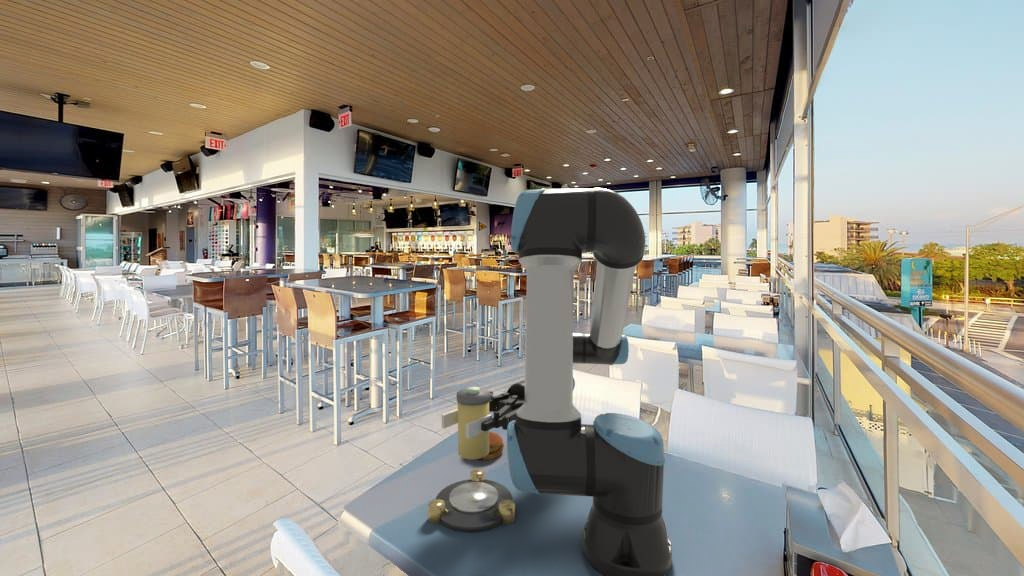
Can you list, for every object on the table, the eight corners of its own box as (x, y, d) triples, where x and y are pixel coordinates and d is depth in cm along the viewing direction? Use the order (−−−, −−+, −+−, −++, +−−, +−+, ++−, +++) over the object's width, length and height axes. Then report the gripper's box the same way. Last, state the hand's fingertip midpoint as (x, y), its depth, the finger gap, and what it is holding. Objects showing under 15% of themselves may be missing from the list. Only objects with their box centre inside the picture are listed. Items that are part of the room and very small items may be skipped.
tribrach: (528, 517, 82) (528, 502, 82) (444, 547, 74) (443, 531, 74) (490, 477, 97) (490, 465, 97) (416, 498, 89) (416, 485, 88)
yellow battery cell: (496, 454, 84) (495, 391, 83) (464, 462, 81) (464, 396, 79) (481, 441, 90) (481, 381, 89) (452, 448, 86) (451, 386, 85)
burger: (495, 441, 116) (495, 425, 116) (509, 456, 108) (509, 439, 107) (461, 448, 112) (461, 432, 112) (473, 464, 104) (473, 446, 103)
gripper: (562, 422, 92) (490, 460, 75) (498, 402, 105) (424, 431, 87) (562, 389, 92) (490, 420, 74) (498, 372, 104) (423, 396, 87)
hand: (454, 426), depth 81 cm, fingers closed on yellow battery cell, 6 cm apart
